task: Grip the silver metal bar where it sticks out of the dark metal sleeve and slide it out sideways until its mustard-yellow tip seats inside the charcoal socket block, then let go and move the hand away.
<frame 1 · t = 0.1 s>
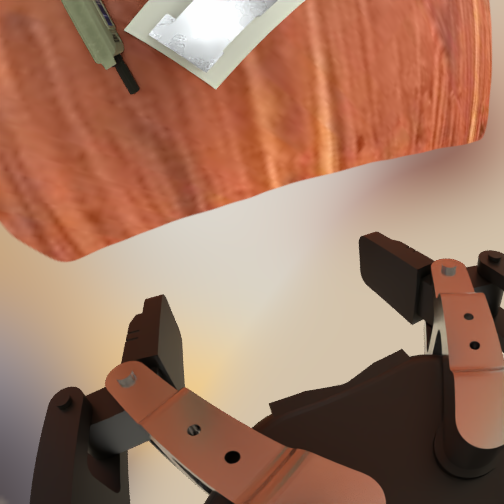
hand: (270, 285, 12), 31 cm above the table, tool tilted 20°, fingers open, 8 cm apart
sleeve: (207, 16, 27), resting on base board
handheld radio: (94, 14, 22), on the table
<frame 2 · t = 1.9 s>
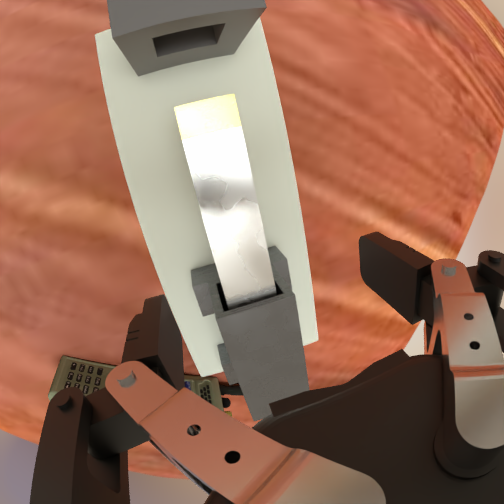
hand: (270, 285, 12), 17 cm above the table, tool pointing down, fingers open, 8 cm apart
base board: (217, 201, 27), on the table
socket: (181, 48, 21), resting on base board
sleeve: (244, 303, 31), resting on base board
silver metal bar: (244, 276, 21), point 7 cm above the table, slide at 0.0 cm
handheld radio: (160, 376, 33), on the table
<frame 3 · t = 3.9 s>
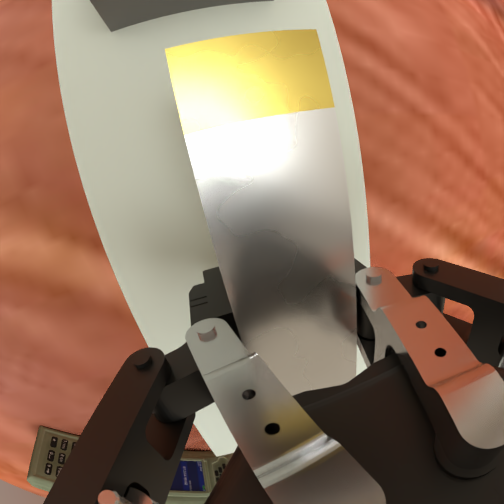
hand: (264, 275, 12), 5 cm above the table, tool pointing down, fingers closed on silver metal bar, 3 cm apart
base board: (243, 239, 17), on the table
silver metal bar: (299, 386, 11), point 8 cm above the table, slide at 0.0 cm, touching gripper
handheld radio: (163, 451, 23), on the table
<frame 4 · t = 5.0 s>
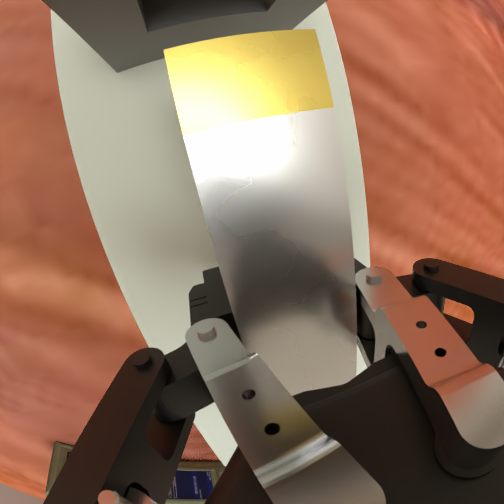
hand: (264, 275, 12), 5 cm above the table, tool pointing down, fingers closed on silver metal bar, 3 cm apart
base board: (252, 276, 18), on the table
socket: (192, 26, 12), resting on base board
silver metal bar: (300, 386, 11), point 8 cm above the table, slide at 2.4 cm, touching gripper
handheld radio: (174, 461, 24), on the table
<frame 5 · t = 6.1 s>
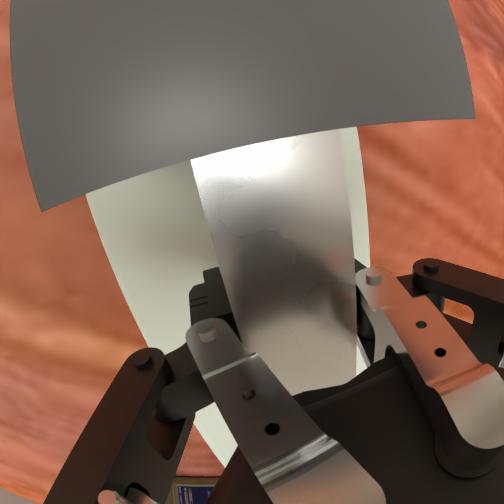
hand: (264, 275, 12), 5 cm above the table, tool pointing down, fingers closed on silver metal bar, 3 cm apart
base board: (266, 334, 19), on the table
socket: (210, 101, 14), resting on base board
silver metal bar: (299, 386, 11), point 7 cm above the table, slide at 6.9 cm, touching gripper
handheld radio: (189, 478, 26), on the table
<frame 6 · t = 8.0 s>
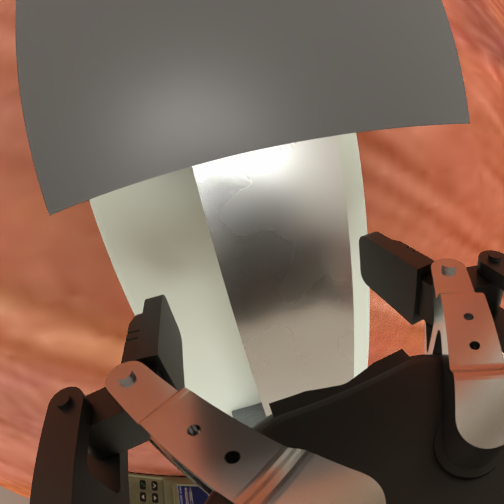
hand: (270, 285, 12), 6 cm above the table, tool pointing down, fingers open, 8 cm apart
base board: (266, 334, 20), on the table
socket: (211, 104, 14), resting on base board
sleeve: (287, 421, 24), resting on base board
silver metal bar: (298, 384, 12), point 8 cm above the table, slide at 6.9 cm
handheld radio: (189, 477, 26), on the table
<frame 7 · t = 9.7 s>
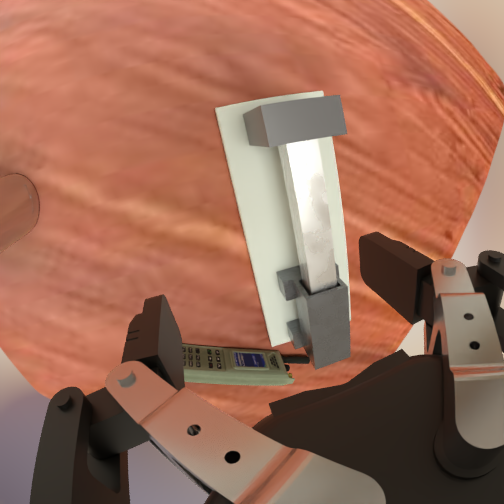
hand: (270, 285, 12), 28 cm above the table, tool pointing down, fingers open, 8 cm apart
base board: (294, 228, 42), on the table
socket: (274, 124, 36), resting on base board
sleeve: (304, 294, 46), resting on base board
silver metal bar: (311, 223, 34), point 7 cm above the table, slide at 6.9 cm
handheld radio: (238, 352, 48), on the table
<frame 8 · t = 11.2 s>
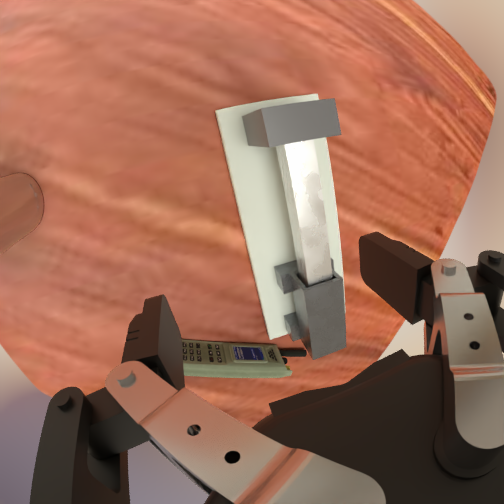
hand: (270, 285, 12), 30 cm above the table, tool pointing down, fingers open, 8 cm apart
base board: (290, 224, 44), on the table
socket: (271, 125, 38), resting on base board
sleeve: (301, 288, 48), resting on base board
silver metal bar: (307, 218, 36), point 7 cm above the table, slide at 6.9 cm
handheld radio: (237, 347, 50), on the table
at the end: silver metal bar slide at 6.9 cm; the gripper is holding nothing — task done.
